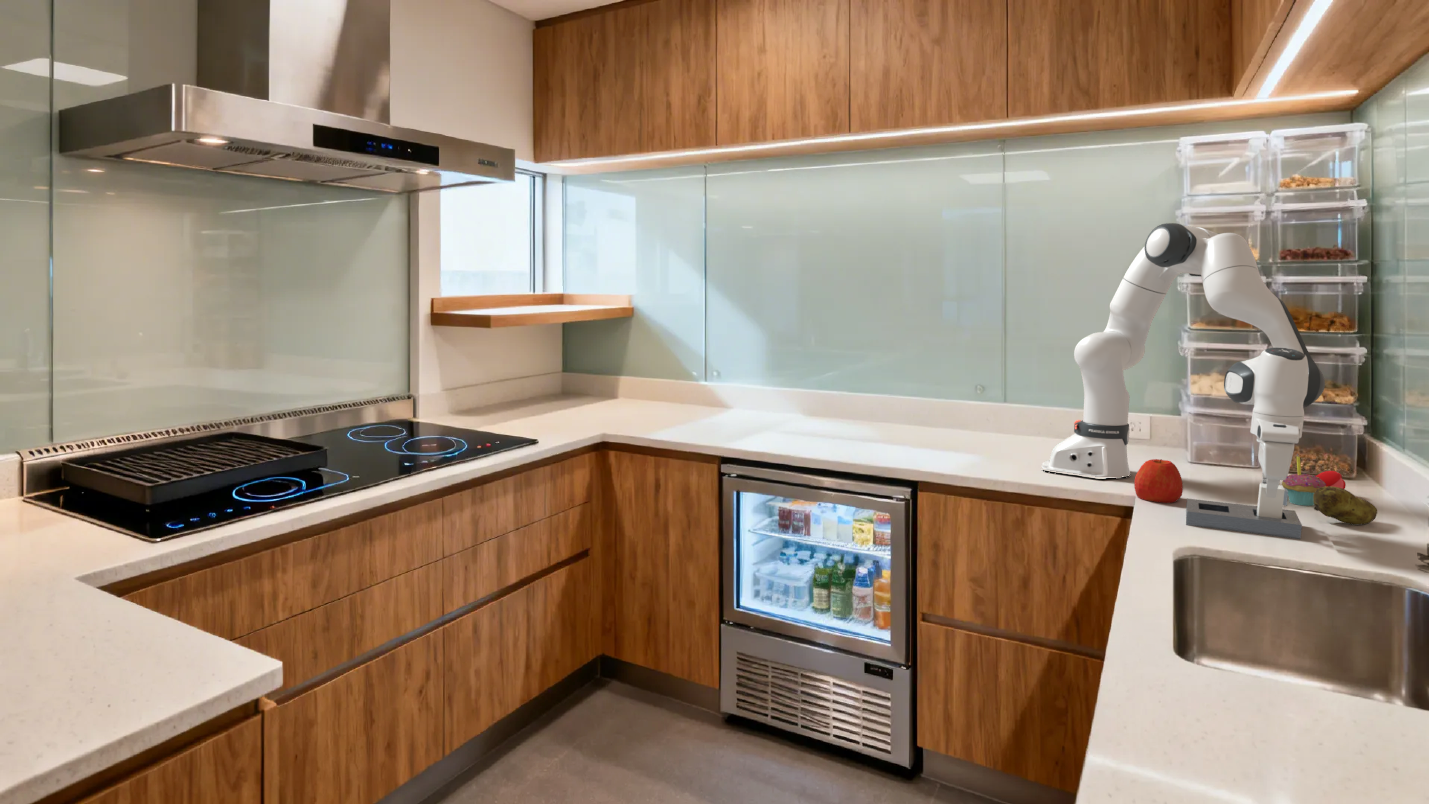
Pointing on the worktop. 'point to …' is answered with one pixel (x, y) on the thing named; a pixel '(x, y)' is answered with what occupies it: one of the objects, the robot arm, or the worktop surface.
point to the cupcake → (1302, 487)
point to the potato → (1343, 506)
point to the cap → (1332, 479)
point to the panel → (1241, 519)
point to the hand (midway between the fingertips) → (1268, 491)
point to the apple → (1158, 481)
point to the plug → (1271, 502)
